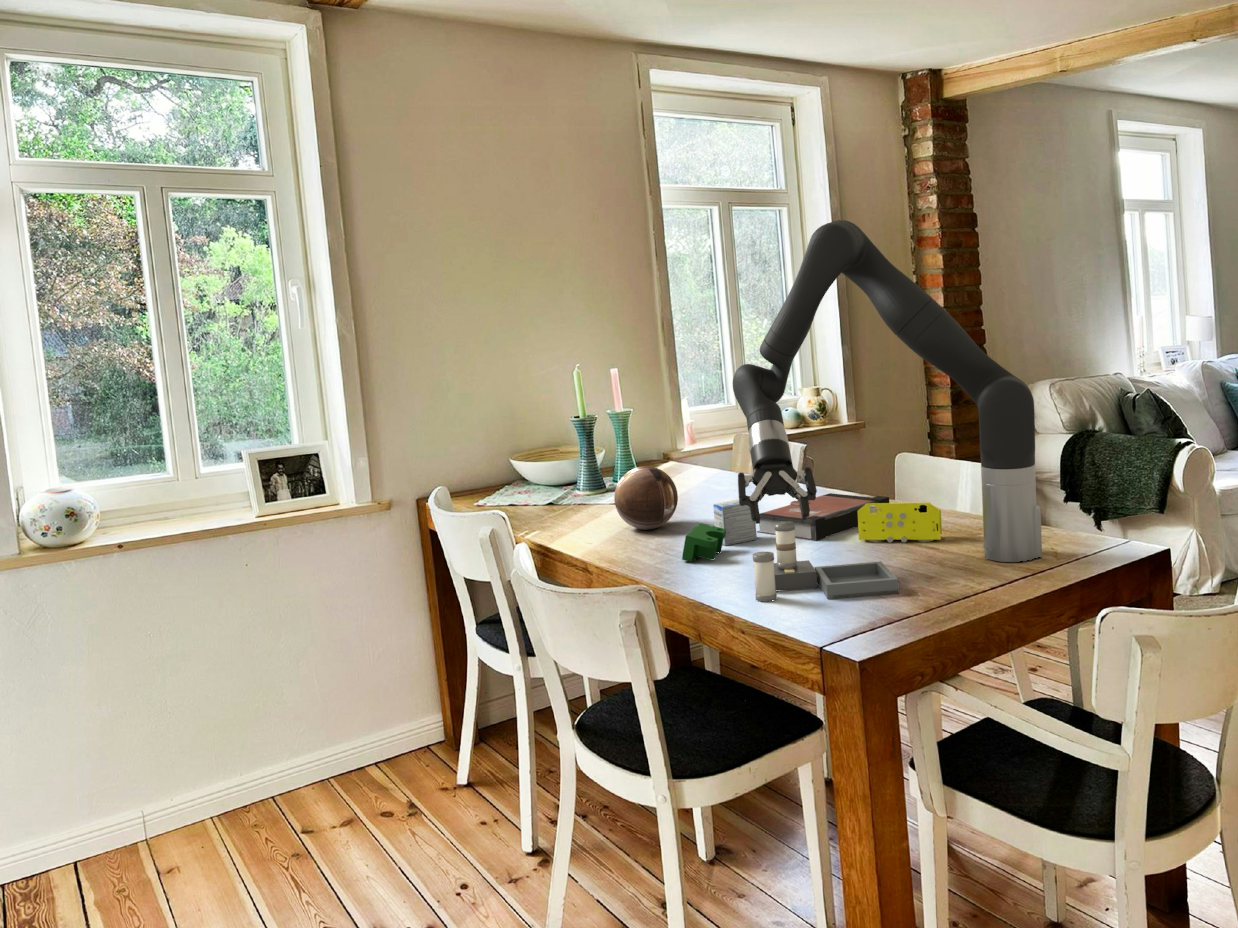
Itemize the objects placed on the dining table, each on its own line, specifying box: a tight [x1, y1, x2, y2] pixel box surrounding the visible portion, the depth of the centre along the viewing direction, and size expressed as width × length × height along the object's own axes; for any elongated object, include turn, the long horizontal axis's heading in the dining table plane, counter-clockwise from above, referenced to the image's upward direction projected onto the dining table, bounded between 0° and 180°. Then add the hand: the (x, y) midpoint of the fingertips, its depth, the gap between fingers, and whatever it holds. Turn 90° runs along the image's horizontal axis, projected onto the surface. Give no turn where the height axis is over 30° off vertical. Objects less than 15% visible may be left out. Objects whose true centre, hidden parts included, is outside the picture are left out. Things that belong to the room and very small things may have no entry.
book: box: [756, 492, 890, 542], centre depth 222 cm, size 26×18×5 cm
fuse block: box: [774, 559, 818, 591], centre depth 178 cm, size 9×8×3 cm
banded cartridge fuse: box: [774, 521, 798, 570], centre depth 177 cm, size 4×4×8 cm
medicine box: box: [713, 499, 758, 547], centre depth 213 cm, size 8×4×9 cm, turn 111°
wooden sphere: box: [613, 465, 679, 531], centre depth 233 cm, size 15×15×15 cm
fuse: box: [752, 551, 778, 602], centre depth 170 cm, size 4×4×8 cm
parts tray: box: [813, 561, 900, 600], centre depth 173 cm, size 12×12×2 cm
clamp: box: [681, 522, 726, 563], centre depth 203 cm, size 12×6×9 cm
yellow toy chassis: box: [857, 502, 943, 543], centre depth 202 cm, size 16×6×8 cm, turn 69°
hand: (781, 519), depth 180 cm, fingers open, 8 cm apart
